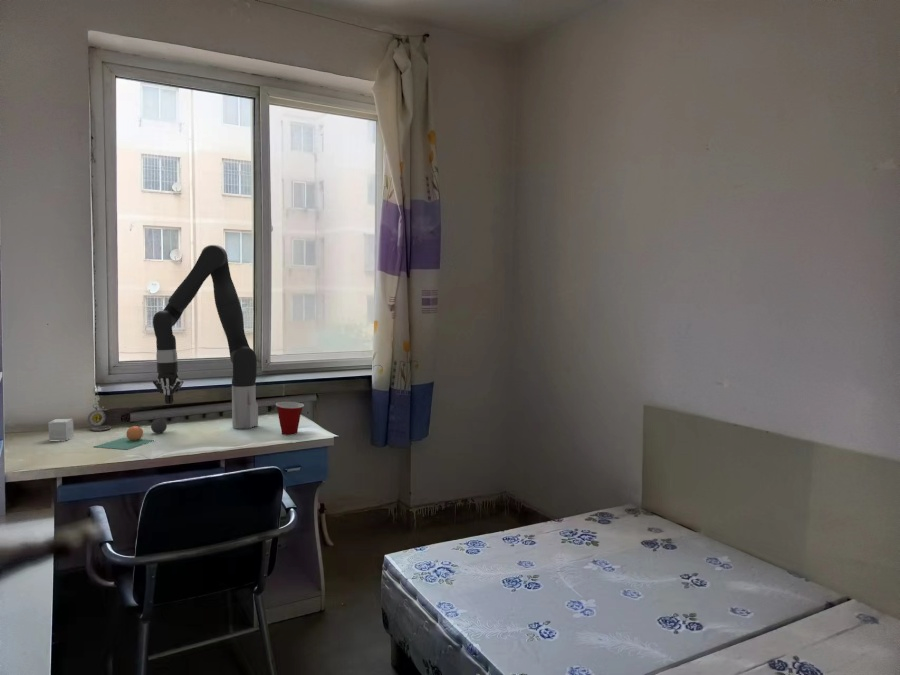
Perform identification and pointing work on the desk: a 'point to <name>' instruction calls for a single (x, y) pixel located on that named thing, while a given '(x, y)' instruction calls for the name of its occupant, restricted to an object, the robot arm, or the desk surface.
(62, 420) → the skincare box
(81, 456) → the desk surface
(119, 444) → the green mark
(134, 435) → the terracotta ball
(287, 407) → the plastic cup
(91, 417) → the pocket watch
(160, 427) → the black ball
